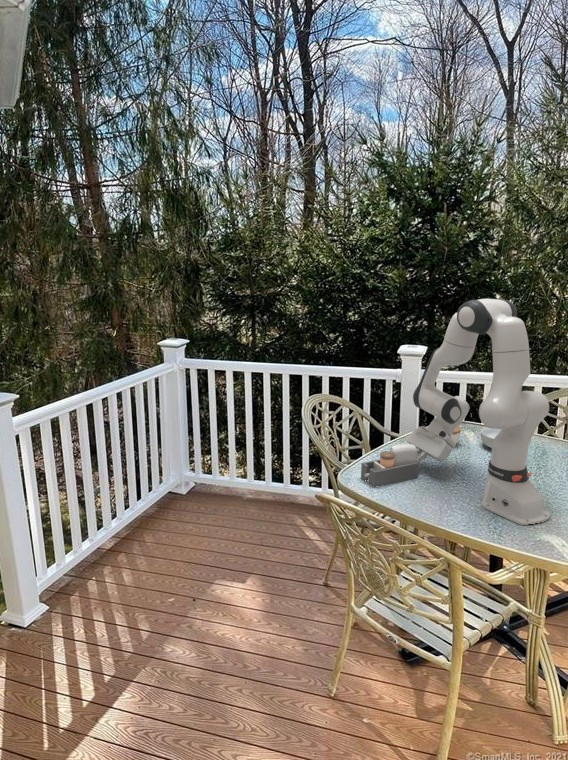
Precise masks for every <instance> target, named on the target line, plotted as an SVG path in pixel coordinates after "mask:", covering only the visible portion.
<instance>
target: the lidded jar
mask: <svg viewBox="0 0 568 760" xmlns="http://www.w3.org/2000/svg"><path fill="white" fill-rule="evenodd" d="M461 431H462V428H461V427H460V425H459V426H458V427H456V428H455V429H454V431H453V433H452V435H451V438H452V439H453V440H454V442H455V443H456V444H457V443H458V442H459V440H460V437H461Z"/></svg>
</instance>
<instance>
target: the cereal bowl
mask: <svg viewBox="0 0 568 760" xmlns="http://www.w3.org/2000/svg"><path fill="white" fill-rule="evenodd" d="M501 430H502V429H491V428H488V427H486V426H485V427H483V428H482V429H481V430H480V438H481V441H482V442H483V445H485V446H486V447H489V448H490V449H492V443H493V440H494V438H495V437H496V436H497V435H498V434H499V432H500V431H501Z"/></svg>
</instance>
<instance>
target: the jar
mask: <svg viewBox="0 0 568 760" xmlns="http://www.w3.org/2000/svg"><path fill="white" fill-rule="evenodd" d="M379 454H380V455H379V457H380V458H379V459H380V465H382V466H383V467H385V468H386V469H387V468H392V467H394V453H393V452H390V450H389V451H387V450H386V451H380V453H379Z"/></svg>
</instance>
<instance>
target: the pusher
mask: <svg viewBox="0 0 568 760" xmlns="http://www.w3.org/2000/svg"><path fill="white" fill-rule="evenodd" d="M373 469H374V470H375V471H377V470H382V469H386V468H385V467H383V466H382V465H380V464H379V463H377V462H376V461H375V462H374V463H373ZM365 477H368V478H369V473H367V474H365Z"/></svg>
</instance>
